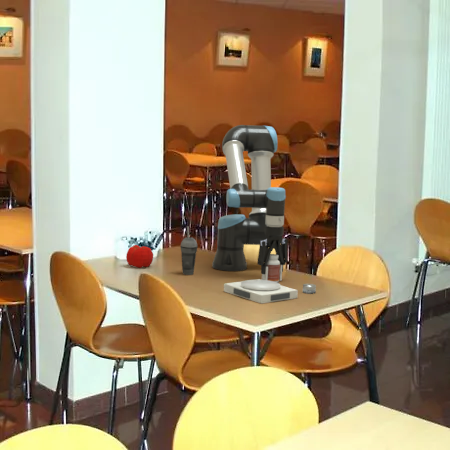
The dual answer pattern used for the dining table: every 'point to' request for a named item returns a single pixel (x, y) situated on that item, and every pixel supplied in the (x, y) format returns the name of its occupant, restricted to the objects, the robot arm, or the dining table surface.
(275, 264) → the pill bottle
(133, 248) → the tomato
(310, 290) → the shiny grey dome
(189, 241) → the beverage cup
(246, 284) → the scale
